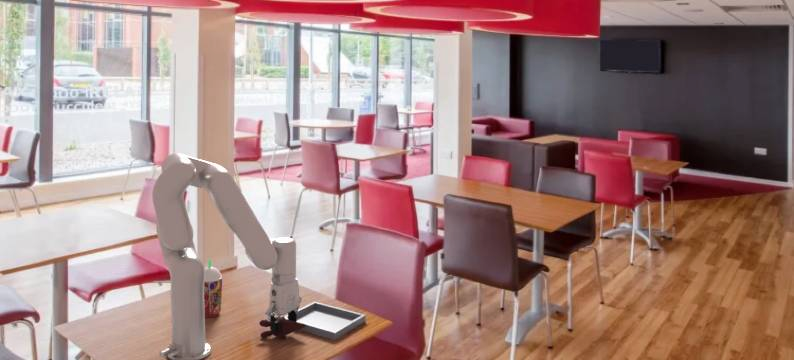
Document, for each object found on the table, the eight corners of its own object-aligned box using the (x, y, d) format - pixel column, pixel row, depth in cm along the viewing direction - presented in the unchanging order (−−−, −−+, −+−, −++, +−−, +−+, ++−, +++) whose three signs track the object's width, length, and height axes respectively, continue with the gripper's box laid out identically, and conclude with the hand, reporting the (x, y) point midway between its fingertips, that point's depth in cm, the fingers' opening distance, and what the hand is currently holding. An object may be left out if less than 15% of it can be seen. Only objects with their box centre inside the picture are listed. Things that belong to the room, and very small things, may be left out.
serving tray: (334, 340, 210) (335, 332, 209) (281, 324, 221) (281, 317, 220) (365, 321, 225) (365, 314, 225) (314, 308, 236) (314, 301, 235)
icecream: (306, 312, 215) (260, 316, 214) (304, 316, 208) (257, 320, 207) (308, 334, 215) (262, 338, 214) (306, 338, 207) (258, 342, 206)
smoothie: (224, 317, 225) (223, 261, 222) (199, 320, 222) (197, 264, 219) (221, 308, 233) (220, 254, 229) (197, 311, 230) (195, 256, 226)
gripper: (274, 286, 198) (275, 341, 201) (310, 271, 213) (310, 322, 216) (256, 281, 202) (256, 335, 205) (292, 267, 217) (292, 317, 220)
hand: (284, 328), depth 211 cm, fingers closed on icecream, 7 cm apart
